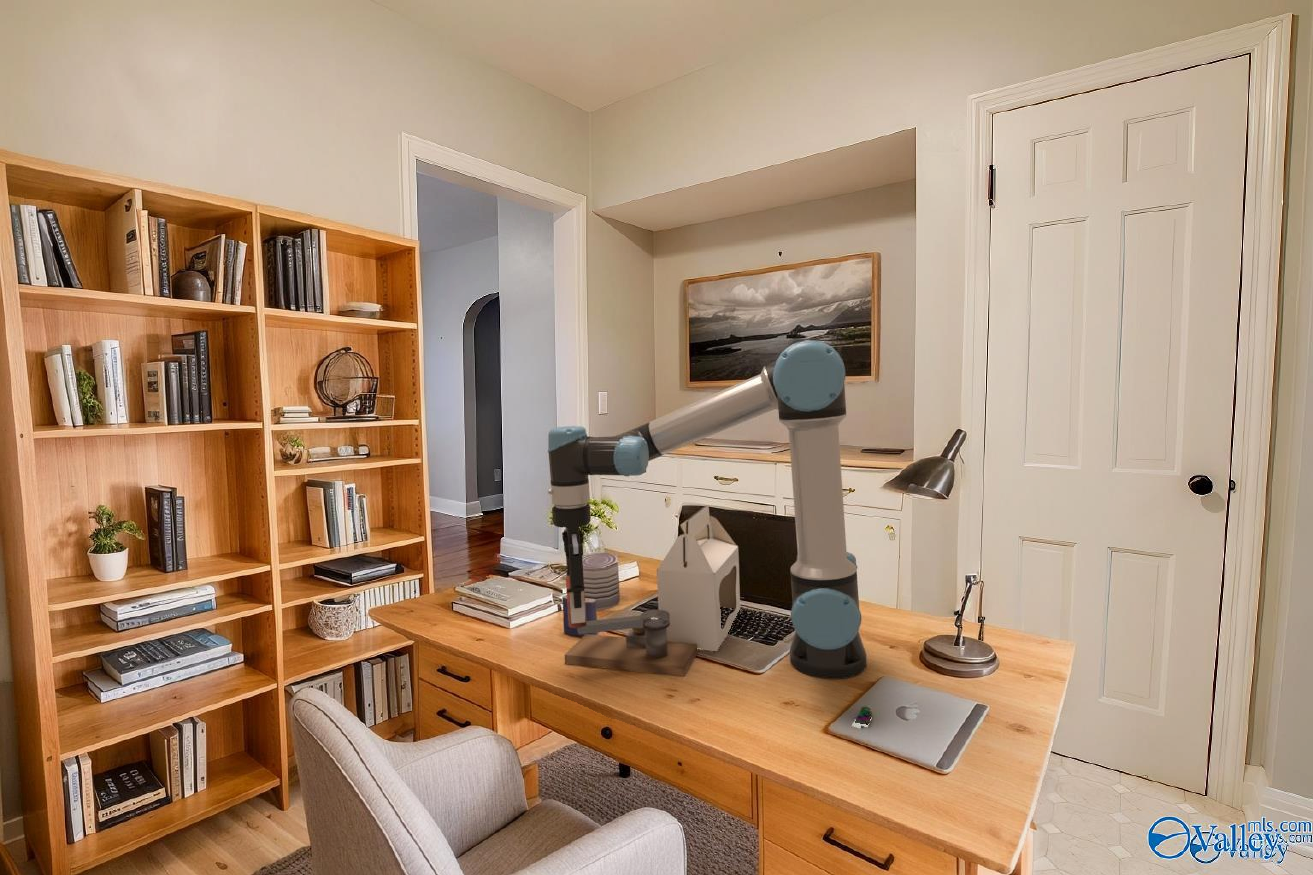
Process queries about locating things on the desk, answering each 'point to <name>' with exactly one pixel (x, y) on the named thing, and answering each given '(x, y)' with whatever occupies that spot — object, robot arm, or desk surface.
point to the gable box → (700, 582)
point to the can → (601, 579)
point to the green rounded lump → (864, 716)
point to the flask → (590, 616)
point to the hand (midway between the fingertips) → (577, 617)
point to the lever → (619, 620)
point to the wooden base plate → (634, 652)
